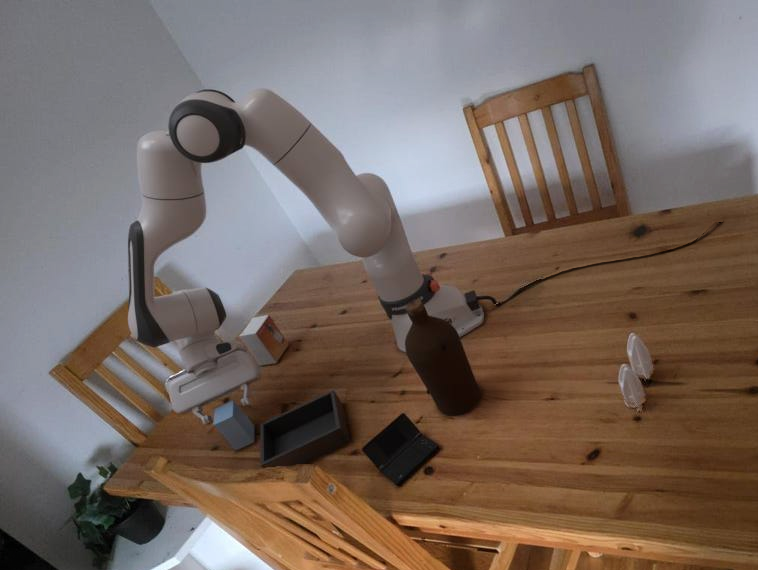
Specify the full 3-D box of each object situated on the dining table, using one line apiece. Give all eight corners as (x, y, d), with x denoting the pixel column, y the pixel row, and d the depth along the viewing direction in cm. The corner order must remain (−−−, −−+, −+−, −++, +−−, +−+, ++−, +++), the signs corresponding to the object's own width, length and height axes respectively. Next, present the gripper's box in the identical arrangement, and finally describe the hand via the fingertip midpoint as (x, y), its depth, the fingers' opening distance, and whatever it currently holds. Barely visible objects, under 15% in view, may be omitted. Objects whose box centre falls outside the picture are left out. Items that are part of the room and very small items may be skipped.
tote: (343, 404, 135) (333, 389, 132) (350, 443, 124) (340, 427, 121) (271, 438, 134) (259, 424, 131) (273, 480, 123) (260, 465, 120)
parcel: (255, 426, 140) (233, 399, 134) (255, 443, 135) (232, 416, 129) (237, 434, 139) (214, 408, 134) (236, 451, 135) (213, 425, 129)
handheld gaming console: (403, 484, 108) (367, 442, 108) (390, 491, 114) (356, 451, 114) (445, 445, 115) (411, 405, 114) (430, 453, 121) (399, 415, 120)
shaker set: (636, 364, 115) (626, 320, 108) (658, 365, 113) (650, 320, 106) (620, 410, 107) (608, 365, 101) (643, 412, 105) (633, 367, 99)
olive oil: (490, 382, 124) (449, 285, 109) (472, 420, 118) (425, 322, 103) (447, 380, 129) (401, 288, 114) (427, 417, 123) (376, 323, 107)
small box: (277, 364, 157) (255, 333, 151) (260, 366, 159) (238, 336, 153) (289, 344, 163) (269, 314, 157) (273, 346, 165) (252, 317, 159)
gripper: (154, 377, 131) (177, 435, 129) (240, 337, 132) (264, 394, 130) (169, 380, 137) (192, 435, 136) (251, 342, 139) (274, 396, 137)
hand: (228, 414), depth 133 cm, fingers open, 8 cm apart
